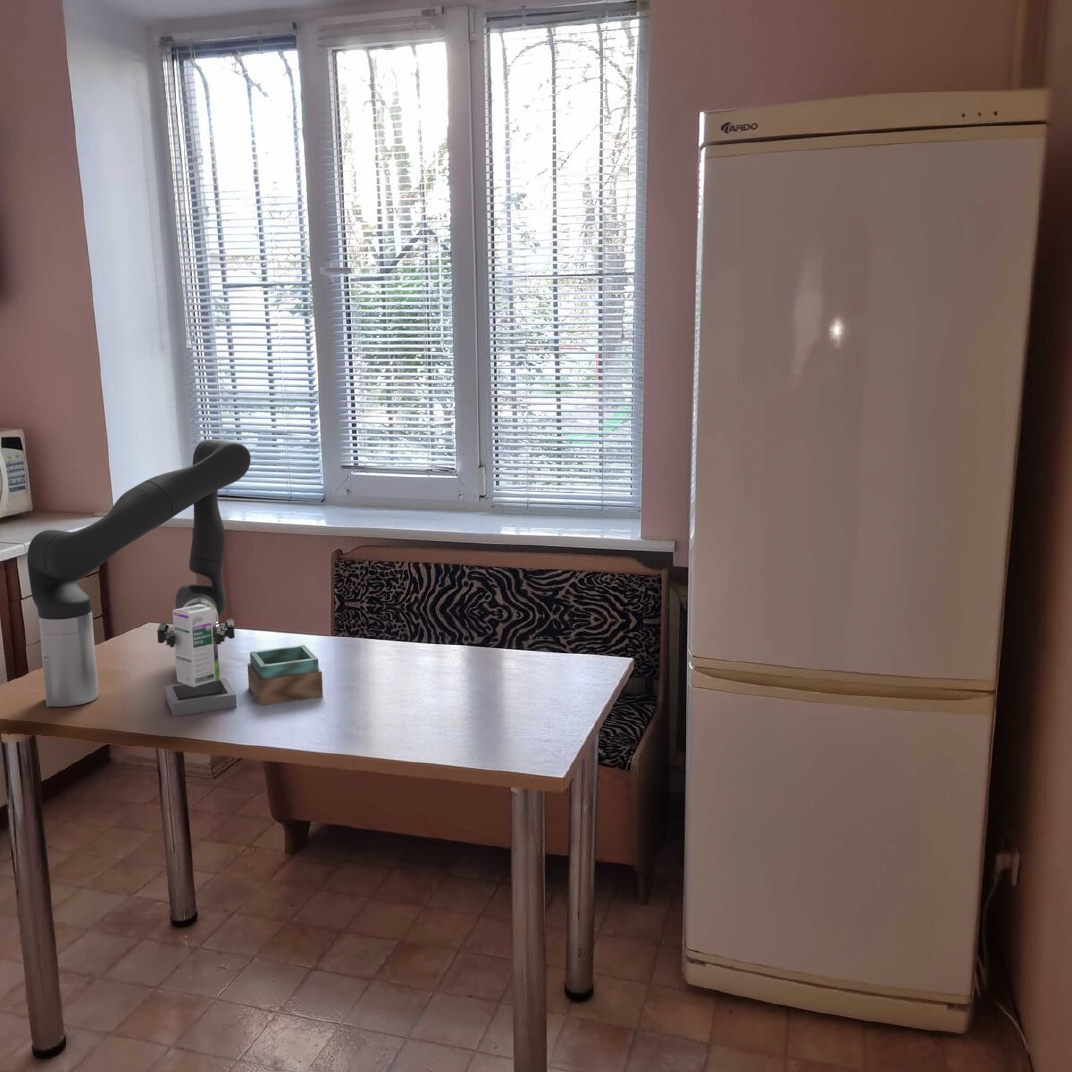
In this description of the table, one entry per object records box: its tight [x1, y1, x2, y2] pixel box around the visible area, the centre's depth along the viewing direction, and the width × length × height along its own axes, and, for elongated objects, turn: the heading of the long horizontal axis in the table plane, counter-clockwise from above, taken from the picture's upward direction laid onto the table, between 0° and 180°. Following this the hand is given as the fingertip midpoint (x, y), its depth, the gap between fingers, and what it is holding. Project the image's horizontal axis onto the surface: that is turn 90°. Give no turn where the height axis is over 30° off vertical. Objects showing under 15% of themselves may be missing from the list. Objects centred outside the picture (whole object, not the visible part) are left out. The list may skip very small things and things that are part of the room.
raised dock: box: [247, 644, 324, 706], centre depth 192 cm, size 12×12×8 cm
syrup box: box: [172, 604, 220, 687], centre depth 184 cm, size 6×6×14 cm
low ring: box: [164, 677, 238, 717], centre depth 186 cm, size 11×11×2 cm
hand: (195, 640), depth 182 cm, fingers closed on syrup box, 8 cm apart
